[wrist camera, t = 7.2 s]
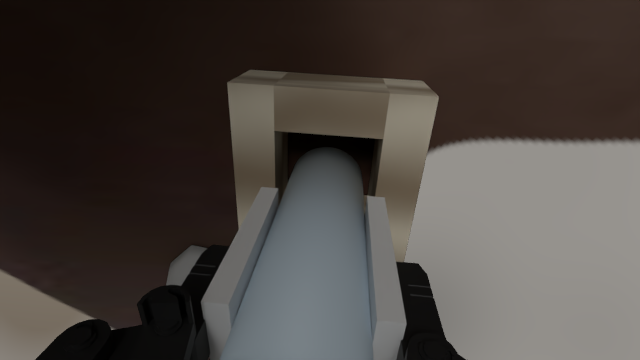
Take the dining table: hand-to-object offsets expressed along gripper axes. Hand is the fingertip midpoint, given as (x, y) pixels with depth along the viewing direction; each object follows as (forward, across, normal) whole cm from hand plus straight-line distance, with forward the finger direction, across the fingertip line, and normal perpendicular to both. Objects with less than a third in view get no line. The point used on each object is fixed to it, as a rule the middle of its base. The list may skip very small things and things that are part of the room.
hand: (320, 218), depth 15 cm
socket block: (+7, 0, 0) cm, 7 cm away
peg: (+4, 0, 0) cm, 4 cm away
